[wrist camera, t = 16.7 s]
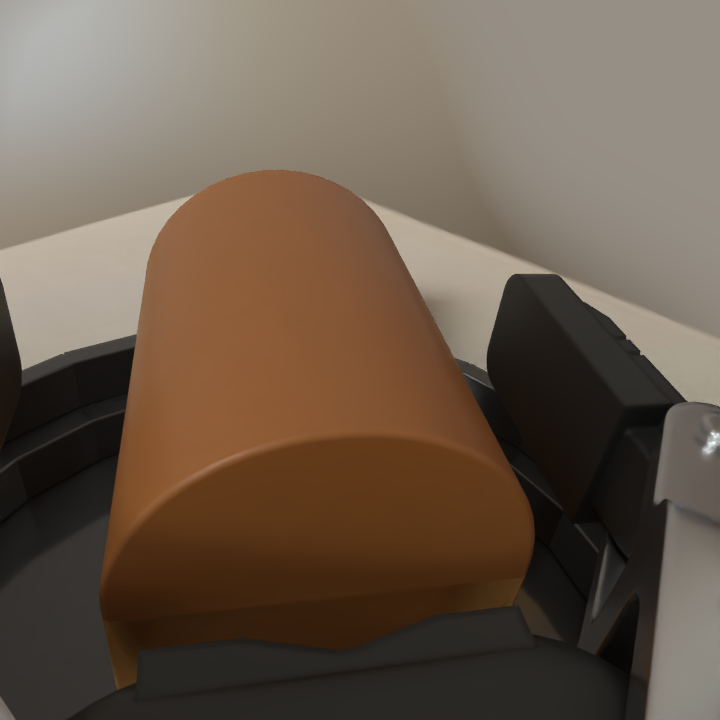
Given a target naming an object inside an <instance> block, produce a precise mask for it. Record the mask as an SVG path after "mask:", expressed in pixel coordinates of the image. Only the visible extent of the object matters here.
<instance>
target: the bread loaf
mask: <svg viewBox="0 0 720 720" xmlns="http://www.w3.org/2000/svg"><path fill="white" fill-rule="evenodd" d="M534 541H535V530H534V517H533V514H532V510H531V507H530V504H529V500H528V499H527V497H526V495H525V493H524V491H523V489H522V487H521V485H520V483H519V481H518V479H517V478H516V476H515V474H514V472H513V470H512V468H511V466H510V464H509V462H508V460H507V458H506V456H505V455H504V453H503V451H502V449H501V447H500V445H499V443H498V441H497V439H496V437H495V435H494V434H493V432H492V430H491V428H490V426H489V424H488V422H487V420H486V418H485V416H484V414H483V413H482V411H481V409H480V407H479V405H478V403H477V401H476V399H475V397H474V395H473V393H472V391H471V390H470V388H469V386H468V384H467V382H466V380H465V378H464V376H463V374H462V372H461V370H460V369H459V367H458V365H457V363H456V361H455V359H454V357H453V355H452V353H451V351H450V349H449V347H448V346H447V344H446V342H445V340H444V338H443V336H442V334H441V332H440V330H439V328H438V326H437V325H436V323H435V321H434V319H433V317H432V315H431V313H430V311H429V309H428V307H427V305H426V304H425V302H424V300H423V298H422V296H421V294H420V292H419V290H418V288H417V286H416V284H415V282H414V281H413V279H412V277H411V275H410V273H409V271H408V269H407V267H406V265H405V263H404V261H403V260H402V258H401V256H400V254H399V252H398V250H397V248H396V246H395V244H394V242H393V240H392V239H391V237H390V235H389V233H388V231H387V229H386V228H385V226H384V224H383V223H382V221H381V220H380V219H379V217H378V216H377V215H376V213H375V212H374V211H373V210H372V209H371V208H370V207H369V206H368V205H367V204H366V203H365V202H364V201H363V200H362V199H360V198H359V197H358V196H356V195H355V194H353V193H352V192H351V191H349V190H348V189H345V188H344V187H342V186H340V185H338V184H336V183H334V182H332V181H329V180H326V179H324V178H322V177H319V176H315V175H311V174H306V173H303V172H296V171H285V170H264V171H258V172H251V173H244V174H241V175H238V176H234V177H231V178H227V179H225V180H222V181H220V182H218V183H216V184H213V185H211V186H209V187H207V188H206V189H204V190H203V191H201V192H199V193H198V194H196V195H194V196H193V197H192V198H191V199H189V200H188V201H187V202H186V203H184V204H183V205H182V206H181V207H180V208H179V209H178V210H177V211H176V212H175V213H174V214H173V215H172V216H171V218H170V219H169V220H168V221H167V223H166V224H165V226H164V227H163V229H162V230H161V231H160V233H159V235H158V237H157V239H156V241H155V243H154V245H153V247H152V250H151V253H150V257H149V260H148V264H147V270H146V277H145V284H144V290H143V297H142V304H141V311H140V317H139V324H138V331H137V338H136V344H135V351H134V358H133V364H132V371H131V378H130V385H129V391H128V398H127V405H126V411H125V418H124V425H123V432H122V438H121V445H120V452H119V459H118V465H117V472H116V479H115V485H114V492H113V499H112V506H111V512H110V519H109V526H108V532H107V539H106V546H105V553H104V559H103V566H102V573H101V580H100V587H99V601H100V612H101V614H102V615H101V617H102V621H103V626H104V631H105V635H106V640H107V645H108V649H109V654H110V659H111V663H112V668H113V673H114V677H115V682H116V687H117V690H119V689H121V688H124V687H126V686H129V685H131V684H134V683H136V680H137V668H138V656H139V650H144V649H153V648H161V647H170V646H178V645H186V644H195V643H203V642H212V641H220V640H229V639H237V638H247V639H255V640H263V641H271V642H279V643H287V644H295V645H303V646H311V647H319V648H327V649H335V650H345V649H351V648H354V647H357V646H360V645H362V644H364V643H367V642H369V641H372V640H374V639H377V638H379V637H382V636H384V635H387V634H389V633H392V632H394V631H397V630H399V629H402V628H404V627H406V626H409V625H411V624H414V623H416V622H419V621H421V620H424V619H426V618H429V617H431V616H434V615H440V614H448V613H457V612H465V611H474V610H482V609H490V608H499V607H507V606H513V605H514V603H515V601H516V598H517V596H518V593H519V591H520V589H521V586H522V584H523V581H524V579H525V576H526V573H527V571H528V568H529V565H530V562H531V559H532V556H533V549H534Z"/></svg>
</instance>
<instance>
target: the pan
mask: <svg viewBox="0 0 720 720" xmlns="http://www.w3.org/2000/svg"><path fill="white" fill-rule="evenodd" d="M136 338H137V334H136V335H132V336H128V337H124V338H120V339H116V340H112V341H108V342H104V343H100V344H96V345H92V346H88V347H85V348H81V349H77V350H73V351H69V352H65V353H64V354H60V355H58V356H55V357H53V358H51V359H48V360H46V361H43V362H41V363H39V364H36V365H34V366H31V367H29V368H27V369H24V370H22V385H21V393H20V397H19V401H18V404H17V407H16V409H15V412H14V415H13V418H12V421H11V424H10V427H9V429H8V432H7V435H6V438H5V441H4V444H3V447H2V449H1V452H0V697H1V698H2V700H3V701H4V703H5V704H6V706H7V707H8V709H9V710H10V712H11V713H12V715H13V716H14V718H15V719H16V720H67V719H68V718H70V717H71V716H73V715H74V714H76V713H77V712H79V711H81V710H82V709H84V708H85V707H87V706H88V705H90V704H91V703H93V702H95V701H97V700H99V699H101V698H103V697H105V696H107V695H109V694H111V693H113V692H115V691H117V687H116V682H115V677H114V673H113V668H112V663H111V659H110V654H109V649H108V645H107V640H106V635H105V631H104V626H103V621H102V617H101V615H102V614H101V612H100V601H99V587H100V580H101V573H102V566H103V559H104V553H105V546H106V539H107V532H108V526H109V519H110V512H111V506H112V499H113V492H114V485H115V479H116V472H117V465H118V459H119V452H120V445H121V438H122V432H123V425H124V418H125V411H126V405H127V398H128V391H129V385H130V378H131V371H132V364H133V358H134V351H135V344H136ZM454 359H455V361H456V363H457V365H458V367H459V369H460V370H461V372H462V374H463V376H464V378H465V380H466V382H467V384H468V386H469V388H470V390H471V391H472V393H473V395H474V397H475V399H476V401H477V403H478V405H479V407H480V409H481V411H482V413H483V414H484V416H485V418H486V420H487V422H488V424H489V426H490V428H491V430H492V432H493V434H494V435H495V437H496V439H497V441H498V443H499V445H500V447H501V449H502V451H503V453H504V455H505V456H506V458H507V460H508V462H509V464H510V466H511V468H512V470H513V472H514V474H515V476H516V478H517V479H518V481H519V483H520V485H521V487H522V489H523V491H524V493H525V495H526V497H527V499H528V500H529V504H530V507H531V510H532V514H533V517H534V530H535V541H534V549H533V556H532V559H531V562H530V565H529V568H528V571H527V573H526V576H525V579H524V581H523V584H522V586H521V589H520V591H519V593H518V596H517V598H516V601H515V603H514V605H513V606H516V605H519V606H520V609H521V611H522V613H523V616H524V618H525V620H526V622H527V625H528V627H529V629H530V632H531V634H534V635H540V636H544V637H548V638H551V639H555V640H559V641H562V642H565V643H568V644H570V645H573V646H576V647H577V645H578V642H579V639H580V635H581V631H582V626H583V622H584V617H585V613H586V608H587V603H588V599H589V594H590V590H591V585H592V580H593V576H594V571H595V567H596V562H597V558H598V553H599V548H600V545H601V542H602V540H603V538H604V536H605V534H606V532H607V530H608V529H607V528H606V526H605V524H604V523H603V522H593V523H582V524H571V522H570V521H569V519H568V517H567V515H566V514H565V512H564V510H563V508H562V507H561V505H560V503H559V501H558V500H557V498H556V496H555V494H554V493H553V491H552V489H551V487H550V486H549V484H548V482H547V480H546V479H545V477H544V475H543V473H542V472H541V470H540V468H539V466H538V465H537V463H536V461H535V459H534V458H533V456H532V454H531V452H530V451H529V449H528V447H527V445H526V444H525V442H524V440H523V438H522V437H521V435H520V433H519V431H518V430H517V428H516V426H515V424H514V423H513V421H512V419H511V418H510V416H509V414H508V412H507V411H506V409H505V407H504V405H503V404H502V402H501V400H500V398H499V397H498V395H497V393H496V391H495V390H494V388H493V386H492V384H491V382H490V380H489V376H488V372H486V371H484V370H482V369H480V368H478V367H476V366H474V365H472V364H470V365H469V363H468V362H465V361H462V360H459V359H456V358H454Z"/></svg>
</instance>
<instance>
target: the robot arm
mask: <svg viewBox="0 0 720 720" xmlns="http://www.w3.org/2000/svg"><path fill="white" fill-rule="evenodd" d="M487 371H488V376H489V380H490V382H491V384H492V386H493V388H494V390H495V391H496V393H497V395H498V397H499V398H500V400H501V402H502V404H503V405H504V407H505V409H506V411H507V412H508V414H509V416H510V418H511V419H512V421H513V423H514V424H515V426H516V428H517V430H518V431H519V433H520V435H521V437H522V438H523V440H524V442H525V444H526V445H527V447H528V449H529V451H530V452H531V454H532V456H533V458H534V459H535V461H536V463H537V465H538V466H539V468H540V470H541V472H542V473H543V475H544V477H545V479H546V480H547V482H548V484H549V486H550V487H551V489H552V491H553V493H554V494H555V496H556V498H557V500H558V501H559V503H560V505H561V507H562V508H563V510H564V512H565V514H566V515H567V517H568V519H569V521H570V522H571V524H582V523H593V522H603V523H604V524H605V526H606V528H607V529H608V530H607V532H606V534H605V536H604V538H603V540H602V542H601V545H600V548H599V553H598V558H597V562H596V567H595V571H594V576H593V580H592V585H591V590H590V594H589V599H588V603H587V608H586V613H585V617H584V622H583V626H582V631H581V635H580V639H579V642H578V645H577V647H576V646H573V645H570V644H568V643H565V642H562V641H559V640H555V639H551V638H548V637H544V636H540V635H534V634H531V632H530V629H529V627H528V625H527V622H526V620H525V618H524V616H523V613H522V611H521V609H520V606H519V605H516V606H507V607H499V608H490V609H482V610H474V611H465V612H457V613H448V614H440V615H434V616H431V617H429V618H426V619H424V620H421V621H419V622H416V623H414V624H411V625H409V626H406V627H404V628H402V629H399V630H397V631H394V632H392V633H389V634H387V635H384V636H382V637H379V638H377V639H374V640H372V641H369V642H367V643H364V644H362V645H360V646H357V647H354V648H351V649H345V650H335V649H327V648H319V647H311V646H303V645H295V644H287V643H279V642H271V641H263V640H255V639H247V638H237V639H229V640H220V641H212V642H203V643H195V644H186V645H178V646H170V647H161V648H153V649H144V650H139V656H138V668H137V680H136V683H134V684H131V685H129V686H126V687H124V688H121V689H119V690H117V691H115V692H113V693H111V694H109V695H107V696H105V697H103V698H101V699H99V700H97V701H95V702H93V703H91V704H90V705H88V706H87V707H85V708H84V709H82V710H81V711H79V712H77V713H76V714H74V715H73V716H71V717H70V718H68V719H67V720H720V407H719V406H715V405H712V404H707V403H701V402H687V401H686V400H685V399H684V398H683V397H682V396H681V394H680V393H679V392H678V391H677V390H676V389H675V388H674V387H673V386H672V385H671V384H670V383H669V382H668V380H667V379H666V378H665V377H664V376H663V375H662V374H661V373H660V372H659V371H658V370H657V369H656V367H655V366H654V365H653V364H652V363H651V362H650V361H649V360H648V359H647V358H646V357H645V356H644V355H640V350H639V349H638V348H637V347H636V346H635V345H634V344H633V343H632V342H631V341H630V340H626V335H625V334H624V333H623V332H622V331H621V330H620V329H619V328H618V327H617V325H616V324H615V323H614V322H613V321H612V320H611V319H610V318H609V317H607V316H606V315H604V314H603V313H601V312H599V311H598V310H596V309H595V308H593V307H591V306H590V305H588V304H587V303H585V302H583V301H582V300H581V299H580V298H579V297H578V296H577V295H576V294H575V293H574V291H573V290H572V289H571V288H570V287H569V286H568V285H567V284H566V283H565V281H564V280H563V279H562V278H561V277H560V276H558V275H556V274H514V275H512V276H511V277H510V278H509V279H508V281H507V283H506V285H505V288H504V292H503V296H502V299H501V303H500V306H499V310H498V314H497V317H496V321H495V325H494V328H493V332H492V335H491V339H490V343H489V346H488V351H487ZM21 385H22V369H21V360H20V355H19V351H18V347H17V343H16V338H15V334H14V330H13V326H12V322H11V318H10V313H9V309H8V305H7V301H6V297H5V293H4V288H3V285H2V282H1V279H0V452H1V449H2V447H3V444H4V441H5V438H6V435H7V432H8V429H9V427H10V424H11V421H12V418H13V415H14V412H15V409H16V407H17V404H18V401H19V397H20V393H21ZM0 720H16V719H15V718H14V716H13V715H12V713H11V712H10V710H9V709H8V707H7V706H6V704H5V703H4V701H3V700H2V698H1V697H0Z"/></svg>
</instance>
